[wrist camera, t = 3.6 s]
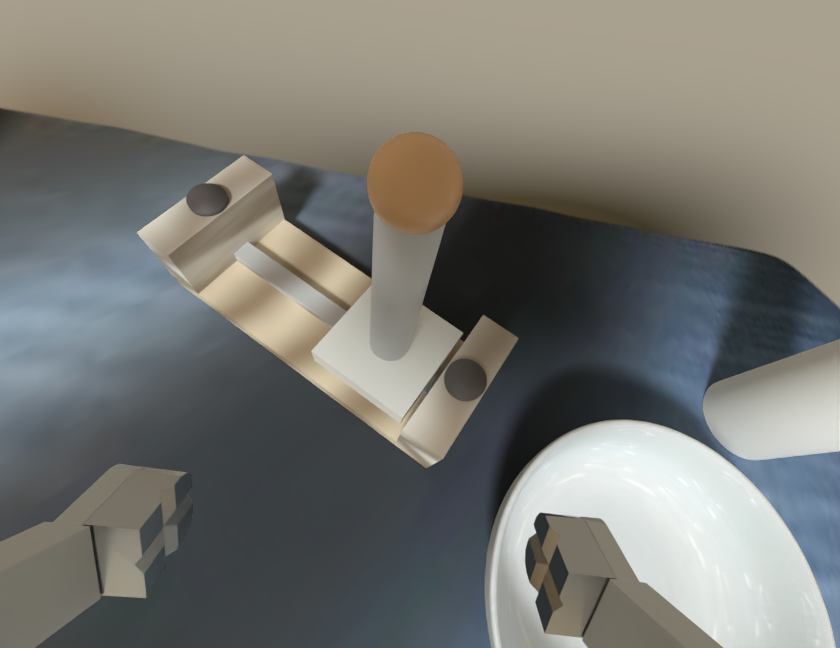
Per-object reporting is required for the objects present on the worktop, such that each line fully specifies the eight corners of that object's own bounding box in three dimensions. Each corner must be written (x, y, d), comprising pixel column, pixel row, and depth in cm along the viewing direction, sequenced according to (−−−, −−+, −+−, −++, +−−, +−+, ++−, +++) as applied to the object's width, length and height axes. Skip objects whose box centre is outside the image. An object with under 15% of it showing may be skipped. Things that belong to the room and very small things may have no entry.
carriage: (314, 360, 30) (241, 150, 12) (378, 288, 33) (395, 40, 15) (400, 423, 28) (458, 294, 11) (457, 342, 32) (574, 142, 14)
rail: (179, 283, 34) (133, 228, 27) (263, 213, 38) (242, 151, 31) (426, 468, 30) (443, 458, 23) (490, 368, 34) (520, 336, 27)
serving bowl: (443, 758, 23) (471, 850, 17) (477, 413, 32) (503, 392, 26) (768, 807, 24) (906, 910, 18) (713, 459, 33) (793, 449, 27)
